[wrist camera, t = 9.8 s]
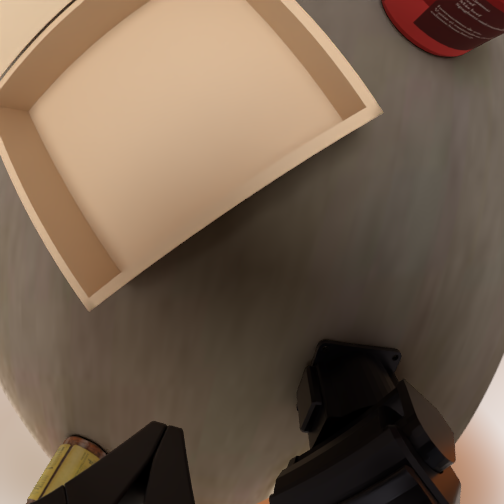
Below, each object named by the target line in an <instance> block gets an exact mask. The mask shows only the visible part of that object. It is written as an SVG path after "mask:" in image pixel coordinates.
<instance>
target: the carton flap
mask: <svg viewBox="0 0 504 504" xmlns="http://www.w3.org/2000/svg"><path fill="white" fill-rule="evenodd" d="M71 1H72V0H0V77H1V76H2V75H3V73H4V72H5V71H6V70H7V68H8V67H9V66H10V65H11V63H12V62H13V61H14V60H15V59H16V57H17V56H18V55H19V54H20V53H21V51H22V50H23V49H24V48H25V47H26V46H27V45H28V44H29V42H30V41H31V40H32V39H33V38H34V37H35V36H36V35H37V34H38V33H39V32H40V31H41V30H42V29H43V28H44V27H45V26H46V25H47V24H48V23H49V22H50V21H51V20H52V19H53V18H54V17H55V16H56V15H57V14H58V13H59V12H60V11H61V10H62V9H63V8H64V7H66V6H67V5H68V4H69V3H70V2H71Z"/></svg>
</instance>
